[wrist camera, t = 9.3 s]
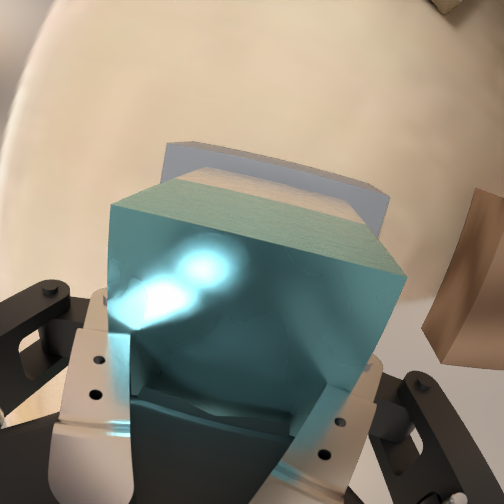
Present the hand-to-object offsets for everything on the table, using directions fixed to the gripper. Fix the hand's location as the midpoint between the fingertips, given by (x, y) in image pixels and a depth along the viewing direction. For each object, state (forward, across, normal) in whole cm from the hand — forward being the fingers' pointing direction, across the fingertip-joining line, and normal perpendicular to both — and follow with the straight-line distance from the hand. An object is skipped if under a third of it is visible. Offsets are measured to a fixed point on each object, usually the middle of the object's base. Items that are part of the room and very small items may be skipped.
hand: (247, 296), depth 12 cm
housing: (+1, 0, 0) cm, 1 cm away
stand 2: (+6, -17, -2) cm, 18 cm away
